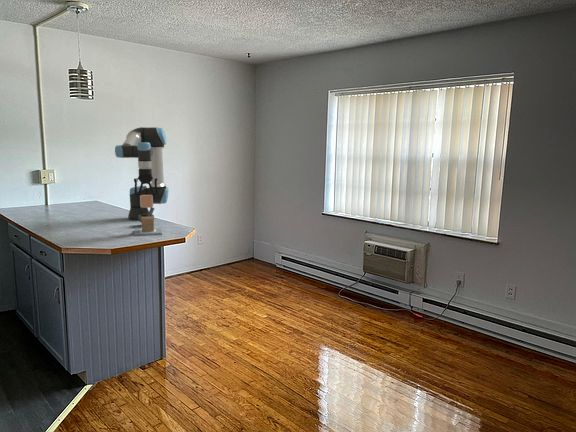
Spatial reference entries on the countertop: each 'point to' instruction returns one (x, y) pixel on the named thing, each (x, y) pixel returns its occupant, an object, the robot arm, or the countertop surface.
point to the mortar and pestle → (147, 214)
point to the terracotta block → (146, 201)
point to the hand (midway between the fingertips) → (146, 206)
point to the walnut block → (147, 224)
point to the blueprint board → (139, 232)
